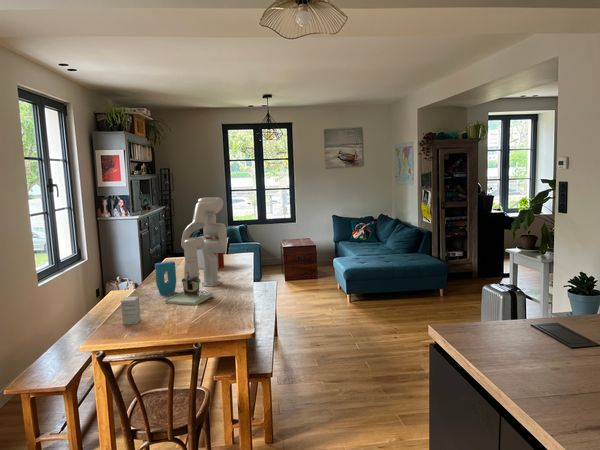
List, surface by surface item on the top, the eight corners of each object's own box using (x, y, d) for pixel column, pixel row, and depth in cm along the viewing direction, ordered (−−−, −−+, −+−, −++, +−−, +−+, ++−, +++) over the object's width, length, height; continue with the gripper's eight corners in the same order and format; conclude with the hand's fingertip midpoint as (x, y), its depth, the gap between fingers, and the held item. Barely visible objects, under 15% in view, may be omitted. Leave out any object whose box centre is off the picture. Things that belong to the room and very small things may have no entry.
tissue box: (224, 266, 365) (223, 234, 362) (209, 270, 350) (207, 237, 347) (210, 265, 373) (208, 233, 370) (194, 269, 359) (192, 236, 356)
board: (182, 294, 280) (182, 291, 280) (212, 296, 274) (212, 292, 274) (165, 303, 262) (165, 299, 262) (196, 305, 256) (196, 301, 256)
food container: (204, 293, 274) (204, 277, 273) (199, 295, 268) (199, 279, 267) (187, 292, 278) (186, 276, 276) (182, 294, 272) (181, 278, 271)
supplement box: (126, 320, 233) (124, 296, 232) (141, 319, 234) (139, 296, 232) (122, 324, 226) (120, 300, 224) (137, 323, 226) (135, 299, 225)
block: (158, 295, 280) (156, 264, 278) (156, 294, 284) (154, 263, 282) (177, 292, 286) (175, 262, 284) (175, 290, 291) (173, 261, 288)
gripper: (193, 256, 280) (195, 284, 282) (178, 262, 263) (180, 291, 265) (203, 257, 277) (205, 284, 279) (189, 262, 261) (191, 292, 263)
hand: (193, 287), depth 272 cm, fingers closed on food container, 6 cm apart
